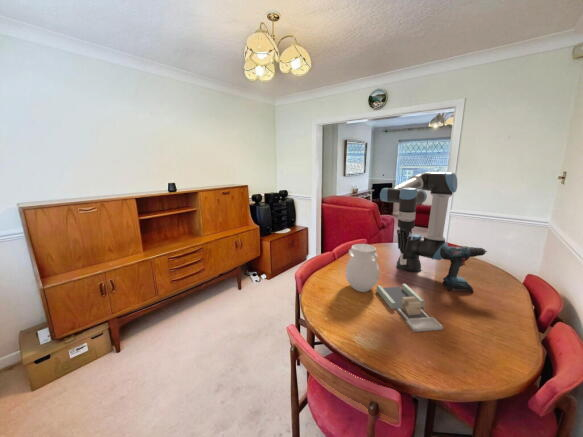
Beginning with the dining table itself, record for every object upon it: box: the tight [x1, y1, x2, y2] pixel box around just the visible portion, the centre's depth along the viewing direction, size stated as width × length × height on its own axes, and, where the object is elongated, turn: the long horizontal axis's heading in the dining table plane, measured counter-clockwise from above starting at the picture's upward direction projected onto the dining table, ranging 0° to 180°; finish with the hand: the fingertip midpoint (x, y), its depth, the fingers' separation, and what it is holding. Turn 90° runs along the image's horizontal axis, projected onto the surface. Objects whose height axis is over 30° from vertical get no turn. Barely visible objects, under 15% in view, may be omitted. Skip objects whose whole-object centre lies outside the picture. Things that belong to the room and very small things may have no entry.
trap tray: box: [405, 316, 444, 333], centre depth 111 cm, size 7×13×2 cm, turn 94°
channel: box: [376, 283, 425, 310], centre depth 132 cm, size 18×17×4 cm
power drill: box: [440, 245, 488, 293], centre depth 140 cm, size 9×23×25 cm, turn 78°
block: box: [402, 296, 422, 315], centre depth 120 cm, size 6×6×6 cm
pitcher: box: [345, 243, 380, 293], centre depth 142 cm, size 19×18×25 cm
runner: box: [382, 286, 431, 322], centre depth 129 cm, size 30×13×1 cm, turn 4°
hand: (402, 264), depth 128 cm, fingers closed
